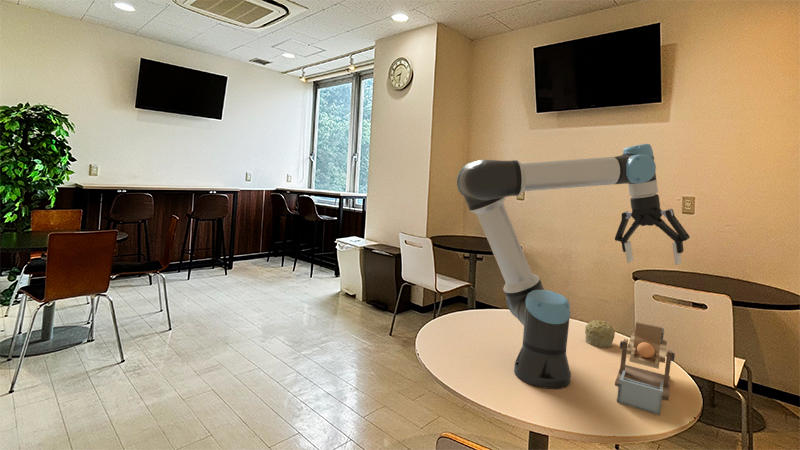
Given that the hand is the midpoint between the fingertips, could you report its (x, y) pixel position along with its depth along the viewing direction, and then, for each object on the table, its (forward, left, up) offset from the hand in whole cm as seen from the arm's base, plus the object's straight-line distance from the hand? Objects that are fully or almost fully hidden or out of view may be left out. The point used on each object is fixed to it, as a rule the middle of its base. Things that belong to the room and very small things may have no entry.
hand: (653, 262), depth 125 cm
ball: (-22, -9, -20) cm, 31 cm away
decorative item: (+2, +15, -32) cm, 35 cm away
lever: (-14, -7, -23) cm, 28 cm away
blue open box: (-28, -11, -32) cm, 43 cm away
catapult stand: (-15, -7, -32) cm, 36 cm away
